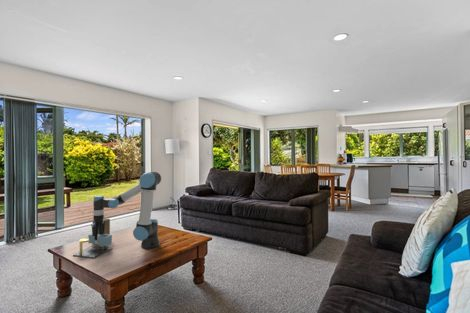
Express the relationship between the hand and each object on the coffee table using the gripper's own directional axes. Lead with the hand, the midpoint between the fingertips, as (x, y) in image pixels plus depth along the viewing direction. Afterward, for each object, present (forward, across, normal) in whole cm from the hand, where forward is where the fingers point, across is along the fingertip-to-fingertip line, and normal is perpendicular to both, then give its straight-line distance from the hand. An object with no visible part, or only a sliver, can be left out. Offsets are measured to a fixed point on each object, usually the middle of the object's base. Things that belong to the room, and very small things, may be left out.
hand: (98, 242), depth 203 cm
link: (0, 0, +1) cm, 1 cm away
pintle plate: (+6, +6, +1) cm, 8 cm away
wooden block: (+6, -16, -11) cm, 20 cm away
